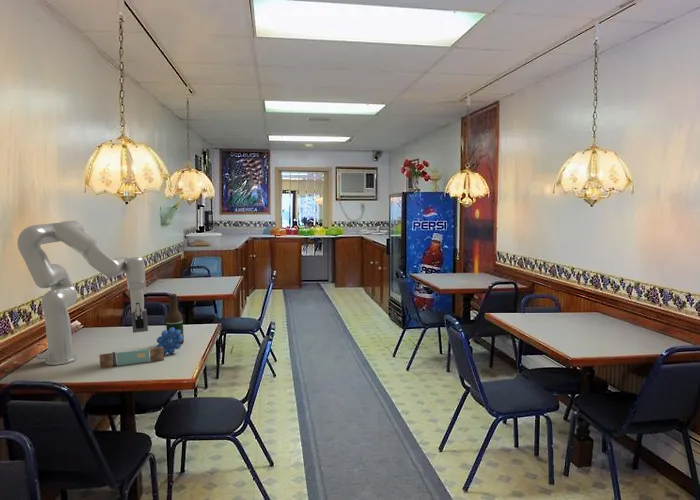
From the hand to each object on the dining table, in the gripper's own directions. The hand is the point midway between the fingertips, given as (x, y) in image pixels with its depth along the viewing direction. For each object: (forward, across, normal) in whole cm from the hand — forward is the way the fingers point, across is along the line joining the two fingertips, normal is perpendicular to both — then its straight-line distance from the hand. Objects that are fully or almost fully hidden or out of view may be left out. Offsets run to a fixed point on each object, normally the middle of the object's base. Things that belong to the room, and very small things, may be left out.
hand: (140, 326), depth 237 cm
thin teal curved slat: (+14, +8, -4) cm, 16 cm away
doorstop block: (+2, 0, 0) cm, 2 cm away
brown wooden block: (+14, +8, -3) cm, 16 cm away
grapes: (+14, -1, +12) cm, 18 cm away
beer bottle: (+14, -17, +15) cm, 26 cm away
